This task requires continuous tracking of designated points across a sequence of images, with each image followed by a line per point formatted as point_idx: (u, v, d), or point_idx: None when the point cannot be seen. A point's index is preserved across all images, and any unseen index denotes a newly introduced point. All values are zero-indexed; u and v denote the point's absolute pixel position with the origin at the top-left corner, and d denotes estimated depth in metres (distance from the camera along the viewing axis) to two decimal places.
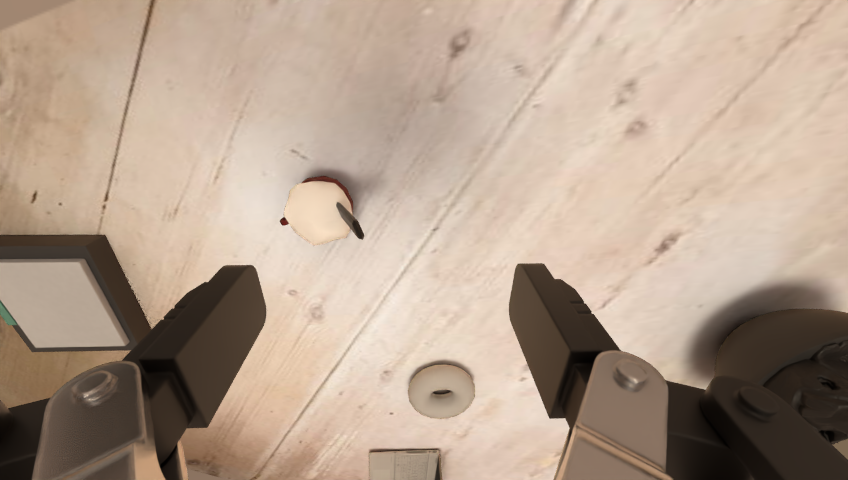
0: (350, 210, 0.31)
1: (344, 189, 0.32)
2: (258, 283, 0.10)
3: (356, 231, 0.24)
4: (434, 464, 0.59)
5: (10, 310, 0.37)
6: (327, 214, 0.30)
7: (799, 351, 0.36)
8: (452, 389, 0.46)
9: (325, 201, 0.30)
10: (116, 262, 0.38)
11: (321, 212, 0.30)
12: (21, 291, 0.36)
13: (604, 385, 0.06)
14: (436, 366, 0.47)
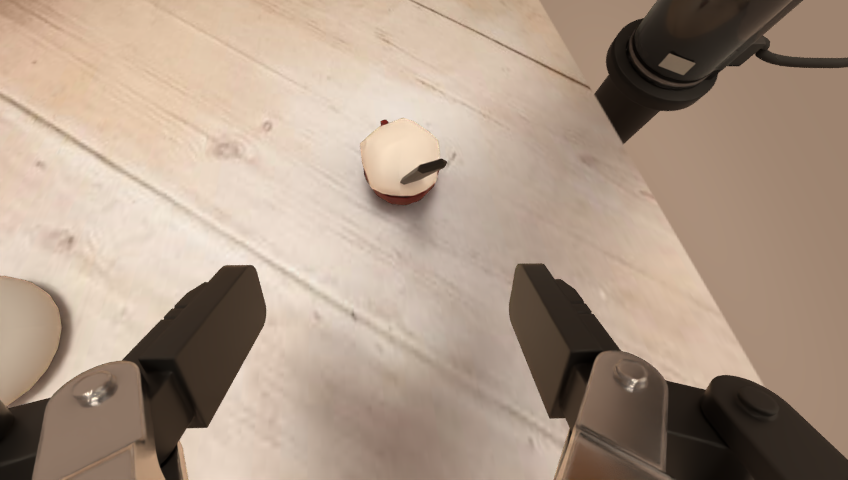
0: (406, 192, 0.25)
1: (425, 193, 0.27)
2: (258, 283, 0.10)
3: (430, 163, 0.17)
4: None
5: None
6: (408, 161, 0.24)
7: None
8: None
9: (423, 162, 0.24)
10: None
11: (411, 154, 0.24)
12: None
13: (604, 385, 0.06)
14: (58, 331, 0.24)
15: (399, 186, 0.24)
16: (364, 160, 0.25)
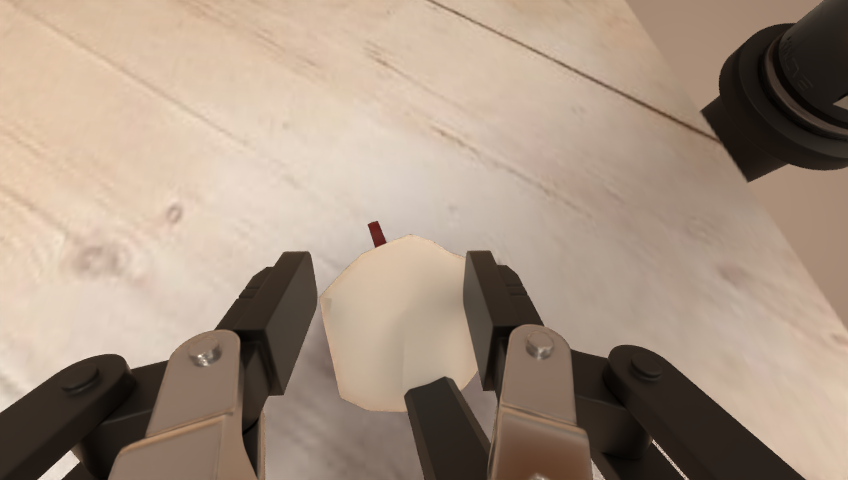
0: None
1: None
2: (312, 269, 0.11)
3: None
4: None
5: None
6: (423, 352, 0.11)
7: None
8: None
9: (455, 347, 0.11)
10: None
11: (430, 336, 0.11)
12: None
13: (520, 359, 0.06)
14: None
15: (402, 403, 0.11)
16: (327, 337, 0.11)
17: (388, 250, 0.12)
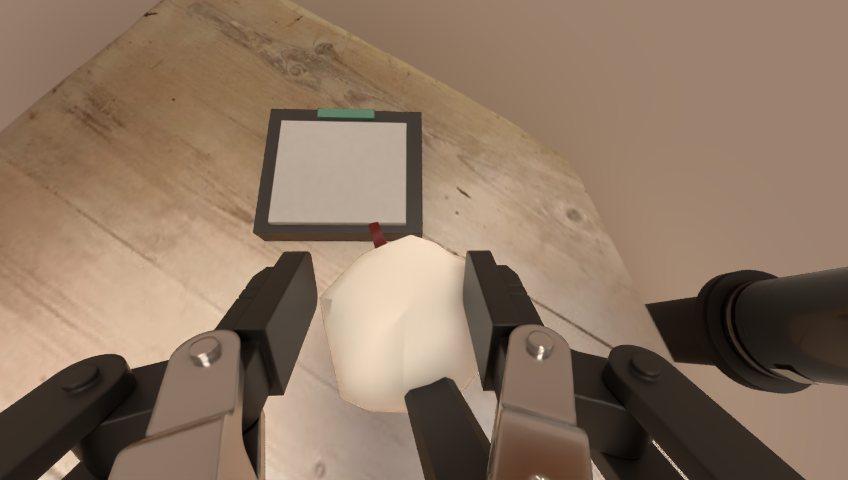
0: None
1: None
2: (312, 269, 0.11)
3: None
4: None
5: (341, 124, 0.32)
6: (423, 353, 0.11)
7: None
8: None
9: (455, 348, 0.11)
10: None
11: (431, 337, 0.11)
12: (367, 147, 0.31)
13: (520, 359, 0.06)
14: None
15: (403, 404, 0.11)
16: (327, 337, 0.11)
17: (388, 251, 0.12)
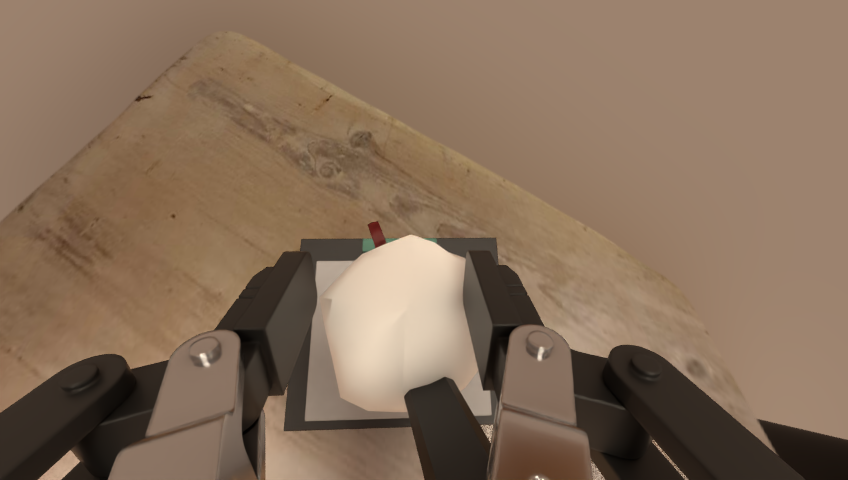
0: None
1: None
2: (312, 268, 0.11)
3: None
4: None
5: None
6: (423, 352, 0.11)
7: None
8: None
9: (455, 347, 0.11)
10: None
11: (430, 337, 0.11)
12: None
13: (520, 359, 0.06)
14: None
15: (402, 404, 0.11)
16: (327, 337, 0.11)
17: (388, 250, 0.12)
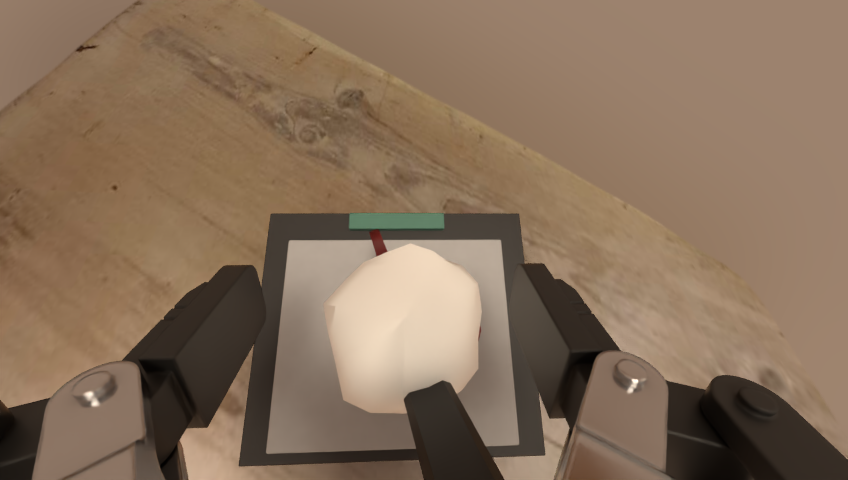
0: None
1: None
2: (258, 283, 0.10)
3: None
4: None
5: (391, 245, 0.18)
6: (422, 357, 0.11)
7: None
8: None
9: (452, 352, 0.12)
10: None
11: (429, 342, 0.11)
12: None
13: (604, 385, 0.06)
14: None
15: (402, 406, 0.11)
16: (330, 342, 0.12)
17: (389, 259, 0.13)
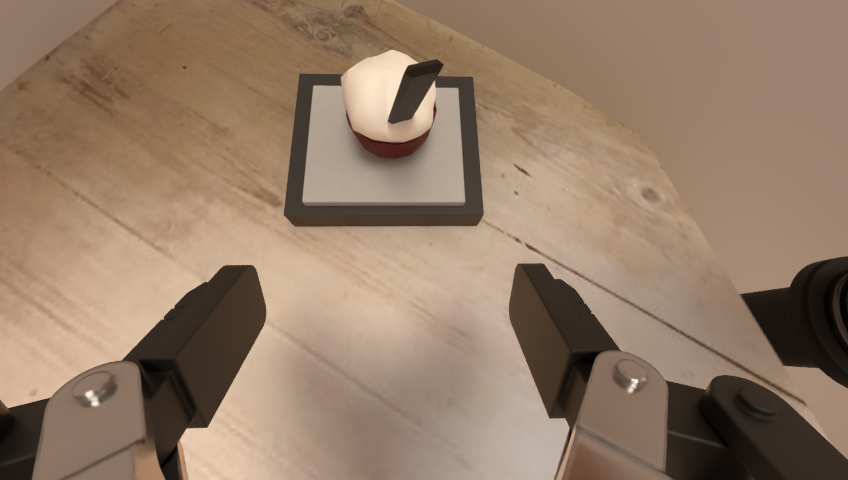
0: (395, 135, 0.21)
1: (418, 141, 0.22)
2: (258, 283, 0.10)
3: (422, 63, 0.13)
4: None
5: None
6: None
7: None
8: None
9: None
10: (436, 224, 0.27)
11: None
12: None
13: (604, 385, 0.06)
14: None
15: (386, 126, 0.20)
16: (345, 96, 0.21)
17: (379, 55, 0.21)
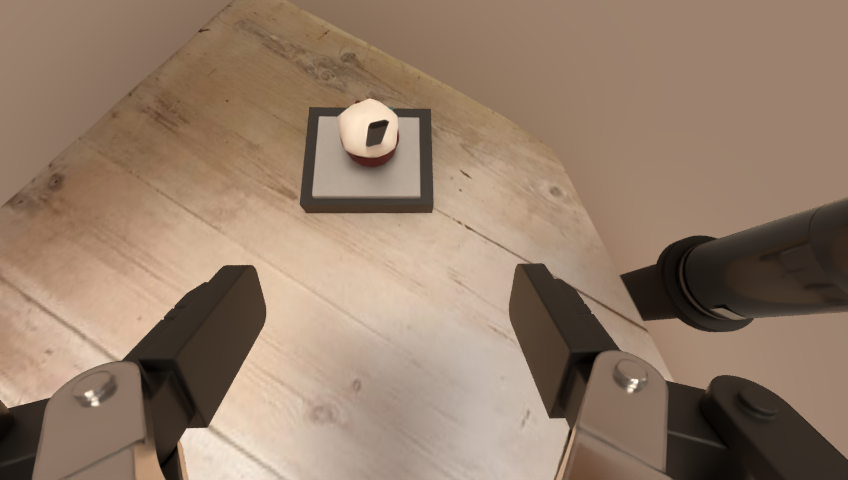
0: (370, 153, 0.33)
1: (387, 156, 0.35)
2: (258, 283, 0.10)
3: (377, 122, 0.25)
4: None
5: None
6: None
7: None
8: None
9: None
10: (403, 212, 0.39)
11: None
12: None
13: (604, 385, 0.06)
14: None
15: (365, 148, 0.32)
16: (340, 129, 0.33)
17: (361, 102, 0.34)
